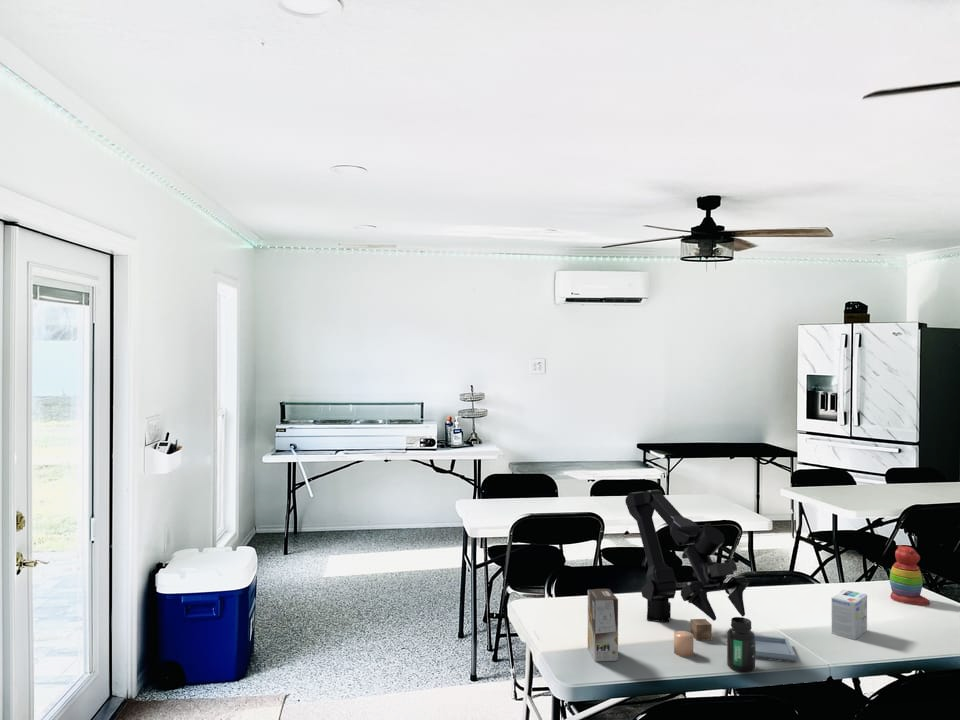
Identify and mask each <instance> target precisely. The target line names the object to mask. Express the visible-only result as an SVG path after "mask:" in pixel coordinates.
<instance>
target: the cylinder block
mask: <svg viewBox="0 0 960 720" xmlns="http://www.w3.org/2000/svg"><path fill="white" fill-rule="evenodd" d="M673 638H674V639H673V653H674V654H675V655H676V656H678V657H683V658H690V657H693V656H694V637H693V634H692V633H690V631H686V630H677V631H674V632H673Z"/></svg>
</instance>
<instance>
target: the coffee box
mask: <svg viewBox="0 0 960 720" xmlns="http://www.w3.org/2000/svg"><path fill="white" fill-rule="evenodd" d="M587 649H588V651H589V654H590V655H591V656H592V658H593V660H594V661H595V662H616V661H618V660H619V599H618V598H617V596H616V595H615V594H614V593H613V592H612V590H611V589H610V588H595V589H593V588H592V589H587Z"/></svg>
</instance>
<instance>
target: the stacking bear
mask: <svg viewBox="0 0 960 720" xmlns="http://www.w3.org/2000/svg"><path fill="white" fill-rule="evenodd" d="M894 556H895V557H894V558H895V560H896V561H895V562H894V563H893V564H892V566H891V569H890V573H889V584H890V590H891V593H890V597H889V598H890V599H892V600H893V601H895V602H897V603H903V604H907V605H913V606H930V604H931V601H930V600H929V599H928V598H926V597H925V596H923V595H921V593H922V589H923V583H924V582H923V576H922V572H921V569H920V566H918V563H919V562H920V560H921V556H920V555H919V554H918V552H917V551H916V550H915V549H914V548H913V547H911V546H908V545H907V546H906V545H905V546H904V545H902V544H898V545H897V549H896V550H895V553H894Z"/></svg>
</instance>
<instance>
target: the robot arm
mask: <svg viewBox="0 0 960 720" xmlns="http://www.w3.org/2000/svg"><path fill="white" fill-rule="evenodd" d="M624 501H625V505H626V506H627V509H628V510H627V511H628V513H629V515H630V516H631V517H632V518H633V519H634V521H636V523H637V527H638V531H639V534H640V538H641V543H642V547H643V551H644V554H645V558H646V562H647V566H648V568H647V571H646V575H645V581H646V583H645V585H643V587H642V588H641V589H640V591H641V597H642V598H643V599H646V600H647V601H646V603H647V604H646V605H647V607H646V608H647V613H646V620H647V621H654V622H662V623H669V622H670V619H671V616H672V615H671V614H672V613H671V610H672V609H671V608H672V607H671V605H672V603H671V602H670V600H669V599H675V595H676V591H677V589H678V583H677V581H678V580H677V579H676V576H675V571H674V569H673V567H669V566H668V565H667V564H666V563H665V560H664V557H663V553H662V548H661V545H660V541H659V538H658V534H657V530H656V526H655V523H654V520H653V516H654V512H656V513H657V514H658V515H659V517H660V518H661V519H662V520H663V521H664V522H665V523H666V525H667V526H668V527H669V534H670V536H671V538H672V540H673V541H674V542H675V543H676V545H677V546H686V545H687V546H688V547H686V548H684V549H683V552H682V556H681V558H682V559H687V560H688V561H689V563H690V566H691V567H692V569H693V573H692V576H693V578H697V580H692V581H691V580H690V581H688V582H687V583H686V584H685V585H684V586H683V587H682V589H681V590H680V596H681V598H682V601H683V602H688V604H692V605H694V606H695V608H698V609H699V610H700V611H701V612H702V613H704V614H705V615H706V616H707V617H709V619H711V620H712V621H713V622H714V621H716V620H717V616H716V614H715V613H716V612H714V609H713V607H712V605H711V603H710V601H709V599H708V593H711V592H720V591H725V593H726V594H727V598H728V600H729V601H730V603H731V604H732V605H733V607H734V608H735V609H736V611H737V612H738V613H739V615H740V616H741V617H743V618H745V616H746V609H745V604H744V603H745V602H744V597H743V595H744V591H745V590H747V586H749V584H750V583H749V581H748V579H747V578H746V576H743V575H736V576H731V577H730V578H729V579H728V580H727V581H726V582H724V581H725V580H726V579H727V576H729V575H734V572H736V571H737V570H738V566H737V564H736V562H735V560H734V559H733V558H729V559H725V560H724V561H723V562H720V563H719V562H717V561H713V560H712V557H711V556H713V555H715V553H716V552H717V551H718V550H719V548H720V547H721V546H722V545H723V544H724V543H725V539H726V538H725V536H724V533H723V532H721V530H719V529H718V528H716V527H714V526H713V525H712V523H704V525H702V528H700V525H698V524H697V523H696V522H695V521H693V520H692V519H689V518H688V517H684V516H683V515H682V514H681V513H680V512H679V510H677V509H676V508H675V506H674V505H673V504H672V503H671V501H669V500H668V498H667V497H666V496H664V492H663V491H662V490H661V489H651V490H650V489H649V490H646V491H635V492H634V491H633V492H629V493H628V494H627V496H626V497H625V500H624Z"/></svg>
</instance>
